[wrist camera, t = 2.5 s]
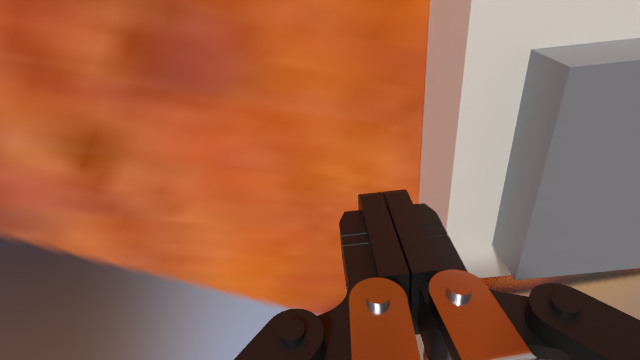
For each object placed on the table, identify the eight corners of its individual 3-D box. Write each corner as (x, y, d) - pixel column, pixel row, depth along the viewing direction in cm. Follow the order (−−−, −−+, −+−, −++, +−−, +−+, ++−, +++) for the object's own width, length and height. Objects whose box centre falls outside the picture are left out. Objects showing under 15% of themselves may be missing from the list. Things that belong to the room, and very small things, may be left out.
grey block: (794, 21, 11) (879, 34, 10) (683, 225, 16) (729, 259, 14) (530, 49, 12) (570, 67, 10) (492, 244, 16) (515, 280, 14)
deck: (869, -74, 14) (1056, -81, 10) (716, 195, 20) (799, 246, 17) (431, -26, 14) (473, -17, 11) (417, 225, 20) (440, 282, 17)
